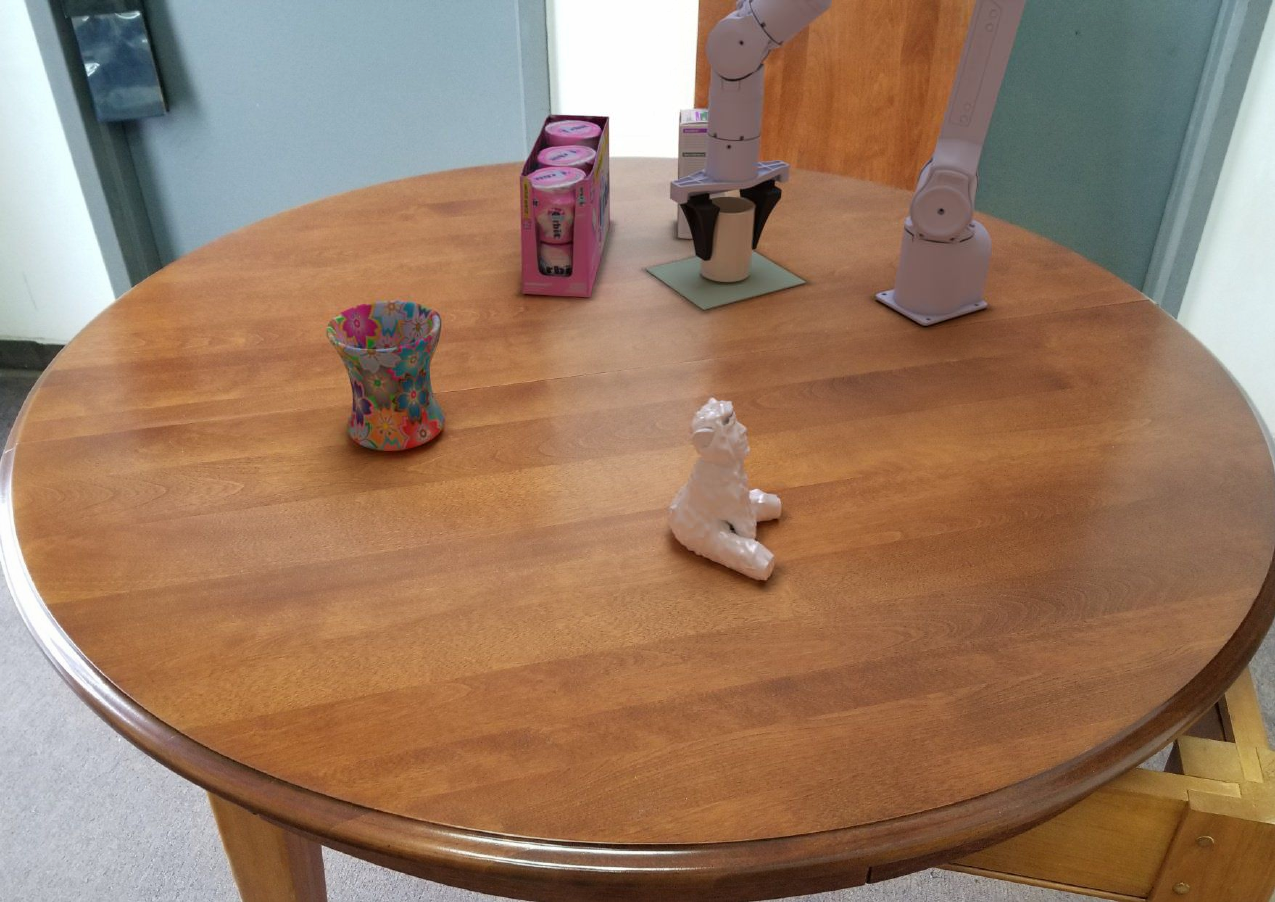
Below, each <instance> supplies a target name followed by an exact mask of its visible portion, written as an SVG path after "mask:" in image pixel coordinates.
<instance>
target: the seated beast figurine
mask: <svg viewBox="0 0 1275 902" xmlns="http://www.w3.org/2000/svg"><path fill="white" fill-rule="evenodd" d="M734 408H735V407H734V406H733V401H732V400H719V401H718V400H717V399H716V398H715V397H710V398H709V399H708V401H707V403H706V404H704V405H702V406H701V408H700V410H698V411H695V412H694V413H693V415H694V416H693V418H692V419H691V422H690V424H689V426H688V431H689V433H690V436H689V437H690V438H689V440H690V442H691V445H692V447H693V448H694V449H695V450H696V452H697V454H698V455H699V456H700V457H698V458H696V461H695V463H694V464H693V469H692V470H691V471H690V473H689V474H690V475H689V477H688V479H687V482H686V483H685V484H683V485H682V486H681V487H680V488H679V491H678V492H677V493H676V495H675V496H674V498H673V500H672V501H671V502H670V504H669V505H668V506H667V513H668V516H667V523H668V524H667V525H668V527H669V528H670V529H671V532H672V533H673V535H674V537H675V539H676V540H677V541H678V542H679V543H680V544H681V545H683V546H684V547H685V548H686V549H687V551H691V552H694V554H695V555H697V556H702V557H703V558H707V559H709V560H710V561H711V562H715V563H717V564H720V565H723V566H725V567H726V568H729V569H730V570H733V571H736V572H738V573H740V574H742V575H744V576H746V577H748V578H751V579H752V580H756V581H767V580H768V578H770V577H771V574H772V572H773V570H774V568H775V563H776V556H775V554H773V552H771V550H769V549H768V548H767V547H765V545H764V544H761V542H759V541H756V540H755V539H756V538H757V525H758V524H757V523H760V522H765V521H772V520H776V519H777V520H778V519H779V518H780V517H781V514H782V501H781V499H780V498H779V497H778V494H773V493H767V492H765V491H762V490H761V489H760V488H754V489H752V490H751V489H750V487H749V485H748V484H749V477H748V475H747V472H746V471H745V458H747V457H749V455H750V452H751V448H750V446H749V441H748V436H747V435H746V433H747V432H748V428H747V427H746V426H745V425H743V424H742V423H740V422H739V421H738V418H737V416H736V413H735V410H734Z"/></svg>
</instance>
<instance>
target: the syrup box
mask: <svg viewBox="0 0 1275 902" xmlns="http://www.w3.org/2000/svg"><path fill="white" fill-rule="evenodd" d="M707 123H708V108H687V109H679V117H678V141H677V143H678V144H677V145H678V147H677V149H678V151H677V153H678V154H677V180H679V179H682V178H684V177H687V176H689V175H691V174H694V173H696V172H698V171H701V170H703V169H705V164H706V145H707ZM725 195H726V192H723V193H718V194H713V195H710V197H715V196H725ZM676 211H677V212H676V213H677V214H676V216H677V217H676V219H677V220H676V223H677V238H678V239H685V240H693V239H692V235H691V231H690V228H689V225H688V222H687V219H686V217H685V215H684V213H683V211H682V208H681V207H680V205H679V203H677V208H676Z"/></svg>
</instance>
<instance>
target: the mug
mask: <svg viewBox="0 0 1275 902" xmlns="http://www.w3.org/2000/svg"><path fill="white" fill-rule="evenodd" d="M441 317H442V316H441V315H440V313H439V312H437V311H436V310H434V309H431V308H429V307H428V306H426V305H423V304H420V303H418V302H417V303H416V302H412V301H405V300H380V301H379V300H378V301H371V302H367V303H362V304H358V305H355V306H352V307H349V308H347V309H345V310H343V311H341V312H339V313H338V314H337V315H335V316H334V317H333V318H332V319H331V320H330V321H329V323H328V324H327V327H326V330H325V331H326V337H327V339H328V341H329V343H330V344H331V345H332V346H333V348H334V349H335V350H336V352H337V354H338V355H339V358H340V359H341V361H342V363H343V365H344V367H345V370H346V372H347V375H348V379H349V383H350V386H351V393H352V407H351V412H350V415H349V418H348V421H347V426H346V429H347V433H348V434H349V436H350V438H351V439H352V440H353V441H354V442H355V443H357V444H358V445H359V446H362V447H364V448H367V449H370V450H375V451H384V452H394V451H395V452H396V451H404V450H409V449H413V448H416V447H418V446H421V445H423V444H426V443H428V442H429V441H431V440H433V439H434V438H435V437H437V435H439V434H440V432H441V431H442V430H443V428H444V425H445V423H446V416H445V413H444V411H443V409H442V408H441V406H440V405H439V403H438V401H437V399H436V397H435V395H434V390H433V388H432V382H431V362H432V360H433V358H434V355H435V353H436V350H437V348H438V345H439V341H440V337H441V331H442V318H441Z"/></svg>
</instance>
